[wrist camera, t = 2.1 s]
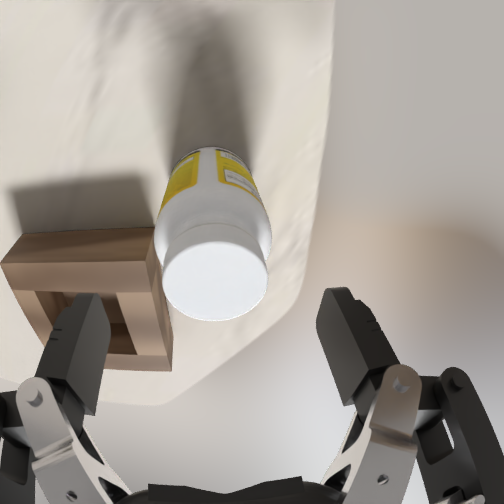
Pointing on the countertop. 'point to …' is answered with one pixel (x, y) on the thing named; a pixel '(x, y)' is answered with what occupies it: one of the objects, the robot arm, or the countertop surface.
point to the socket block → (97, 289)
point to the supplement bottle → (213, 237)
